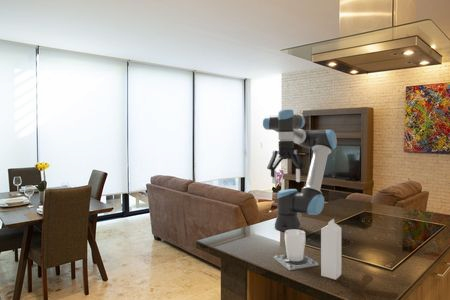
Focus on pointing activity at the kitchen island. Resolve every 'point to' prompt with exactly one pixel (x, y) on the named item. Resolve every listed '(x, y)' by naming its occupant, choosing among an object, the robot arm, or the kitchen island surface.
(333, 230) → the milk
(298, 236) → the cup
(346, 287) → the kitchen island surface
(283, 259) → the flange
